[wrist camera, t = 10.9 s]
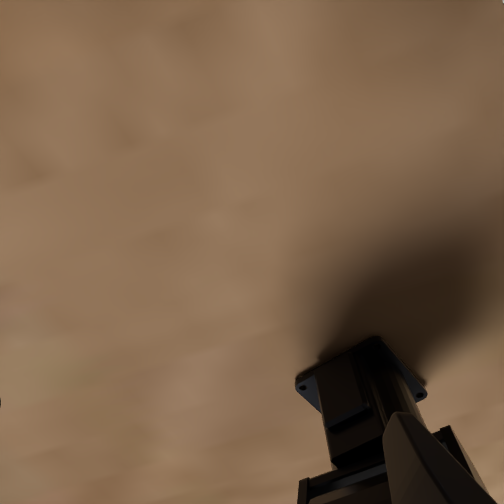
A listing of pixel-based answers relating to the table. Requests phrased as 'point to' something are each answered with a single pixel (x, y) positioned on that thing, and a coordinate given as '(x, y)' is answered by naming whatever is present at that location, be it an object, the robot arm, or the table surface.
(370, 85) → the table surface
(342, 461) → the robot arm
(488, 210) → the table surface
